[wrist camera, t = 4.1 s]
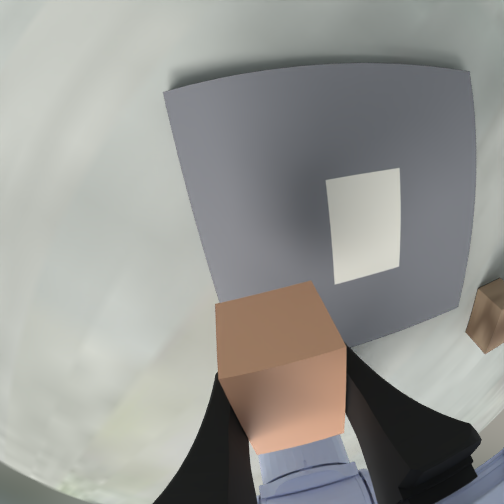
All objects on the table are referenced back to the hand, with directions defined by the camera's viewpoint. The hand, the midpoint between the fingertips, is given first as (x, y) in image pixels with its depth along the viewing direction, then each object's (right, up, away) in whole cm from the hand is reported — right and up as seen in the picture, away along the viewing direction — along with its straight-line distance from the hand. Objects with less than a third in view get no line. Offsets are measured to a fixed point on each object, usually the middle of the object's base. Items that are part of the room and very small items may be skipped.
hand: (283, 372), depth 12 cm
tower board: (+6, +7, +7) cm, 11 cm away
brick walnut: (+24, -1, +13) cm, 27 cm away
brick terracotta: (0, +1, +2) cm, 2 cm away
